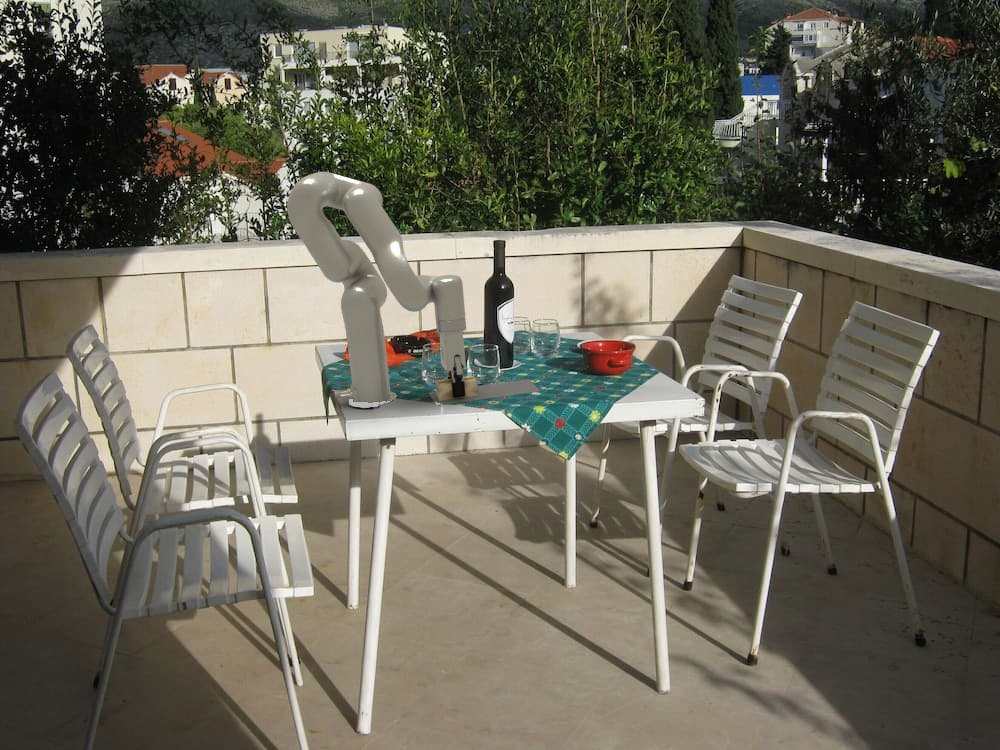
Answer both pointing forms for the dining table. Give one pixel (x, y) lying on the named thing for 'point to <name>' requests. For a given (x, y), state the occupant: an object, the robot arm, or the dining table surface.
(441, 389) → the birch tile
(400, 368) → the dining table surface
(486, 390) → the rubber mat
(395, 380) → the dining table surface
